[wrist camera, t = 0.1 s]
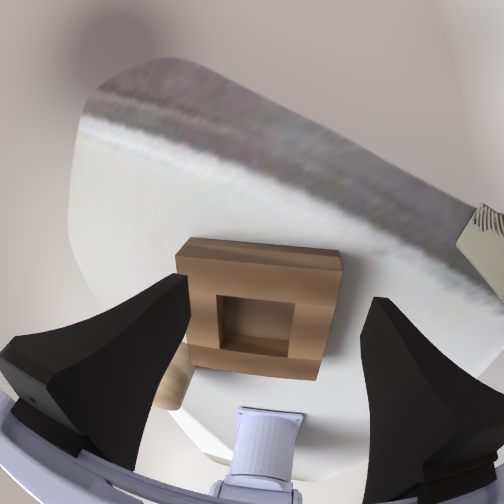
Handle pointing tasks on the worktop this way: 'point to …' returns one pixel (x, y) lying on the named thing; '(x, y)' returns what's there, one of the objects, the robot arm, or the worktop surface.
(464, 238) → the box
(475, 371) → the worktop surface
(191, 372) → the pin
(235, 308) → the socket block
